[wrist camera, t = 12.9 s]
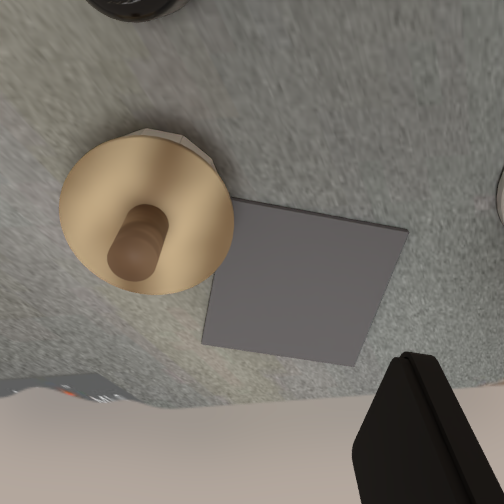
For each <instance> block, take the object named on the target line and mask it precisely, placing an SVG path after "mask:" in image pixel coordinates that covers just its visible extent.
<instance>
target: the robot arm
mask: <svg viewBox="0 0 504 504" xmlns="http://www.w3.org/2000/svg"><path fill="white" fill-rule="evenodd" d="M497 210H498V214H499V217H500V220H501V222H502V224H503V225H504V171H503V173H502V176H501V179H500V182H499V185H498V192H497ZM352 461H353V466H354V471H355V476H356V480H357V484H358V489H359V494H360V499H361V503H362V504H504V493H503V491H502V489H501V487H500V484H499V482H498V480H497V479H496V477H495V474H494V473H493V470H492V468H491V467H490V465H489V463H488V460H487V458H486V456H485V455H484V452H483V450H482V448H481V446H480V445H479V442H478V441H477V439H476V437H475V434H474V432H473V430H472V429H471V426H470V424H469V423H468V421H467V418H466V416H465V414H464V412H463V410H462V408H461V406H460V405H459V402H458V400H457V398H456V397H455V394H454V393H453V390H452V388H451V386H450V384H449V382H448V380H447V378H446V376H445V374H444V372H443V370H442V368H441V366H440V364H439V362H438V361H437V359H436V358H435V357H434V356H432V355H426V354H420V353H413V352H404V353H402V354H401V356H400V357H394V358H393V359H392V361H391V362H390V365H389V367H388V369H387V371H386V373H385V375H384V378H383V380H382V382H381V384H380V386H379V388H378V391H377V393H376V395H375V397H374V399H373V402H372V404H371V406H370V408H369V410H368V412H367V415H366V417H365V419H364V421H363V423H362V425H361V428H360V430H359V432H358V434H357V436H356V439H355V441H354V443H353V447H352Z"/></svg>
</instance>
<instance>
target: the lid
mask: <svg viewBox="0 0 504 504" xmlns="http://www.w3.org/2000/svg"><path fill="white" fill-rule="evenodd" d="M59 215H60V222H61V226H62V230H63V233H64V236H65V238H66V240H67V242H68V244H69V246H70V248H71V249H72V251H73V252H74V254H75V255H76V257H77V258H78V259H79V260H80V261H81V262H82V263H83V265H84V266H86V267H87V268H88V269H89V270H90V271H91V272H92V273H94V274H95V275H96V276H98V277H99V278H101V279H102V280H104V281H106V282H108V283H109V284H111V285H114V286H116V287H118V288H121V289H124V290H127V291H130V292H135V293H140V294H149V295H163V294H172V293H176V292H180V291H183V290H186V289H189V288H192V287H194V286H196V285H197V284H199V283H201V282H202V281H204V280H205V279H207V278H208V277H209V276H210V275H212V274H213V273H214V272H215V271H216V270H217V268H218V267H219V266H220V265H221V264H222V262H223V260H224V259H225V257H226V255H227V253H228V251H229V249H230V246H231V242H232V239H233V231H234V211H233V205H232V201H231V198H230V195H229V192H228V190H227V188H226V186H225V184H224V182H223V181H222V179H221V178H220V176H219V174H218V173H217V172H216V171H215V170H214V168H213V167H212V166H211V165H210V164H209V163H208V162H207V161H206V160H205V159H203V158H202V157H201V156H200V155H198V154H197V153H195V152H194V151H193V150H191V149H189V148H187V147H185V146H184V145H182V144H179V143H177V142H174V141H172V140H169V139H165V138H161V137H157V136H148V135H130V136H123V137H119V138H115V139H112V140H109V141H106V142H104V143H102V144H100V145H98V146H96V147H95V148H93V149H92V150H90V151H89V152H88V153H87V154H85V155H84V156H83V157H82V158H81V159H80V160H79V161H78V162H77V163H76V165H75V166H74V167H73V168H72V169H71V171H70V173H69V174H68V176H67V178H66V180H65V182H64V185H63V187H62V191H61V195H60V201H59Z"/></svg>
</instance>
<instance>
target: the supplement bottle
mask: <svg viewBox="0 0 504 504" xmlns="http://www.w3.org/2000/svg"><path fill="white" fill-rule="evenodd" d="M86 1H87V2H88V3H89V4H90V5H91V6H93V7H94V8H95V9H96V10H98V11H99V12H101V13H103V14H104V15H106V16H108V17H110V18H113V19H116V20H119V21H124V22H134V23H137V22H146V21H150V20H154V19H157V18H160V17H163V16H166V15H169V14H171V13H174V12H176V11H177V10H179V9H180V8H182V7H183V6H184V5H185V4H187V2H188V1H189V0H86Z"/></svg>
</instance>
